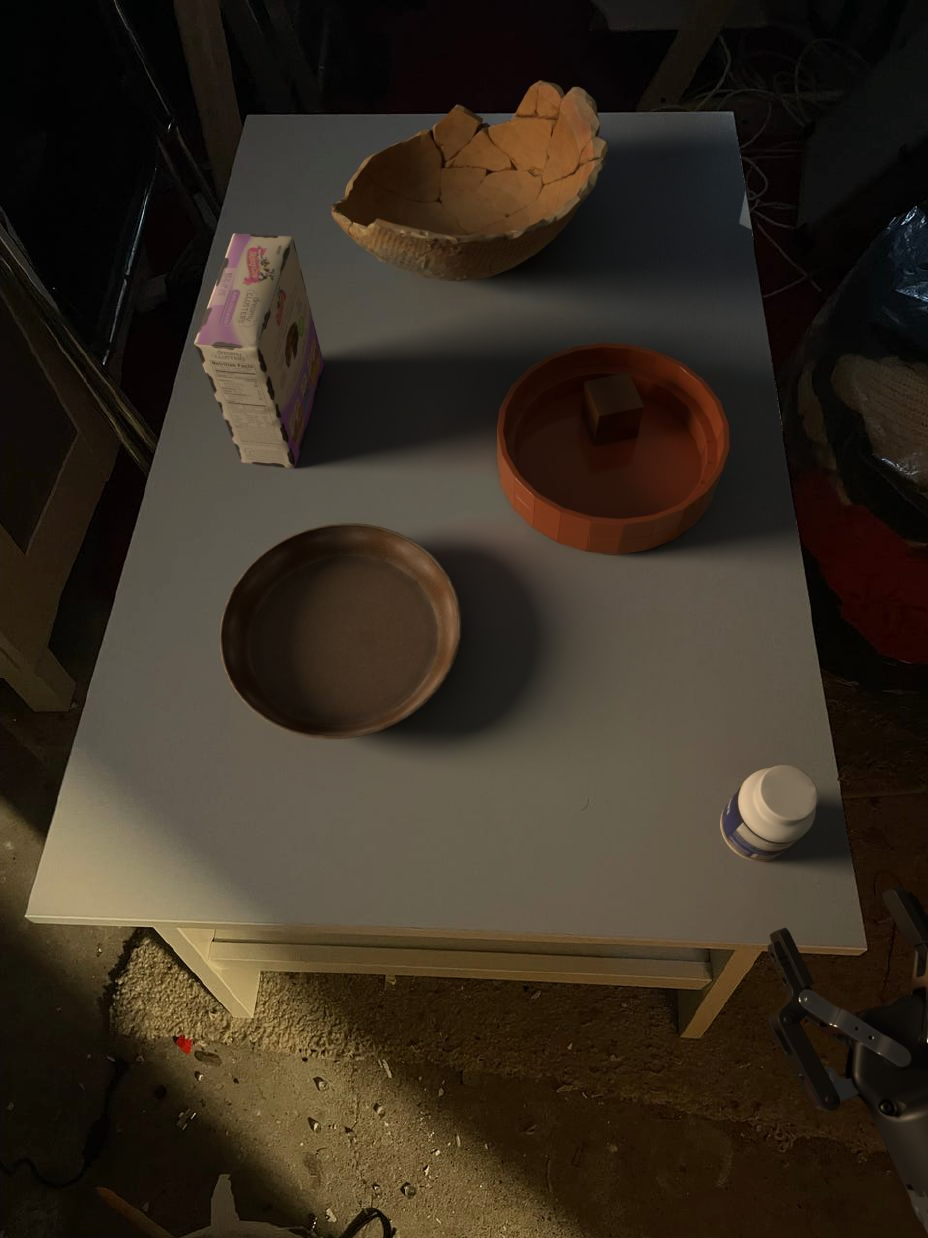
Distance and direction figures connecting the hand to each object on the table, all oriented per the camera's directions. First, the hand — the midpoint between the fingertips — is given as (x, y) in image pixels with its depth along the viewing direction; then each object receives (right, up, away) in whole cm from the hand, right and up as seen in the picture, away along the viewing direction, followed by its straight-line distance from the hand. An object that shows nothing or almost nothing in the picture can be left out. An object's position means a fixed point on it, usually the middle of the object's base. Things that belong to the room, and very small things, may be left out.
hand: (834, 910), depth 60 cm
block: (-11, +39, +28) cm, 49 cm away
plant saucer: (-36, +18, +19) cm, 44 cm away
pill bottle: (-2, +3, +10) cm, 11 cm away
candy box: (-44, +41, +31) cm, 67 cm away
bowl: (-11, +35, +27) cm, 45 cm away
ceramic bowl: (-24, +63, +42) cm, 80 cm away
